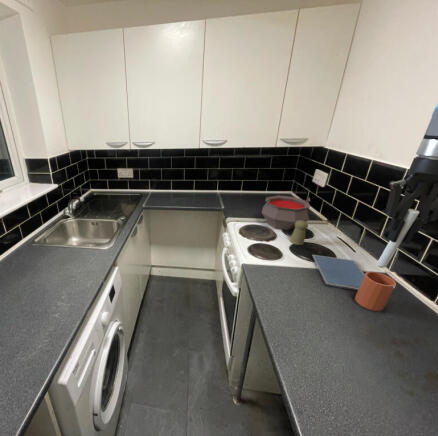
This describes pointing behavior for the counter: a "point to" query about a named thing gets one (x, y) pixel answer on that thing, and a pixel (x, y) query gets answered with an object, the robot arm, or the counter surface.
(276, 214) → the cauldron
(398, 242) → the stylus
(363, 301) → the pen pot
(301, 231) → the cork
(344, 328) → the counter surface
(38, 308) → the counter surface
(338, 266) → the tablet
